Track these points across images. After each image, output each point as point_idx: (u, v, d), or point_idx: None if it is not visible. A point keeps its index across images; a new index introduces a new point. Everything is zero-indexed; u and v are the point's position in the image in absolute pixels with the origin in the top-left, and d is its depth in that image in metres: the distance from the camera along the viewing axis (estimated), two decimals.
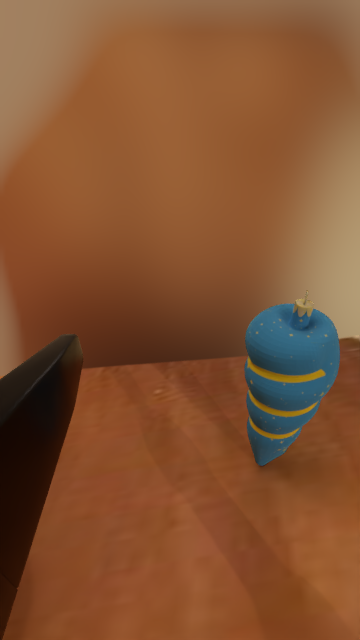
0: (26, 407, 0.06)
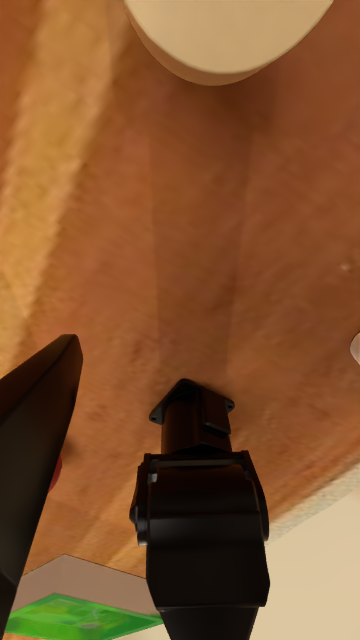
0: (26, 407, 0.06)
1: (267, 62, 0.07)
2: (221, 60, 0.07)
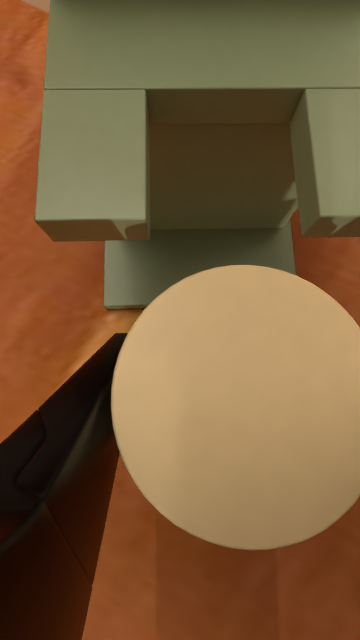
0: (101, 405, 0.06)
1: (311, 536, 0.06)
2: (252, 536, 0.06)
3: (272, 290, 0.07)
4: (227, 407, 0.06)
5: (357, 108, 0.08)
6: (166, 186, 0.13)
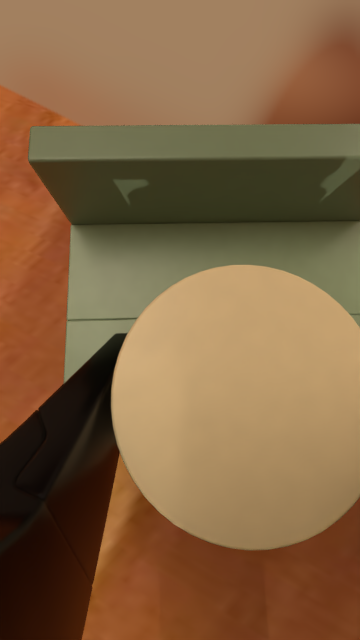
0: (101, 405, 0.06)
1: (312, 536, 0.06)
2: (252, 536, 0.06)
3: (272, 290, 0.07)
4: (228, 406, 0.06)
5: None
6: None
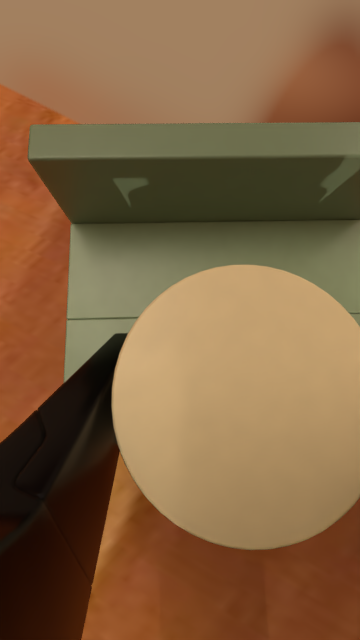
0: (101, 405, 0.06)
1: (312, 535, 0.06)
2: (252, 536, 0.06)
3: (272, 290, 0.07)
4: (228, 406, 0.06)
5: None
6: None
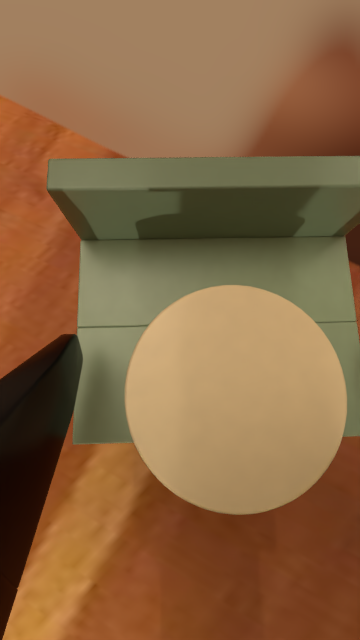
0: (26, 407, 0.06)
1: (285, 503, 0.07)
2: (237, 504, 0.07)
3: (255, 306, 0.08)
4: (219, 401, 0.08)
5: None
6: None
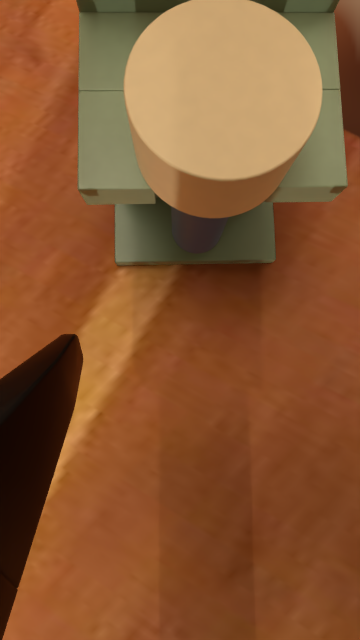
0: (26, 407, 0.06)
1: (263, 172, 0.08)
2: (222, 171, 0.08)
3: (243, 14, 0.09)
4: (208, 91, 0.08)
5: None
6: None
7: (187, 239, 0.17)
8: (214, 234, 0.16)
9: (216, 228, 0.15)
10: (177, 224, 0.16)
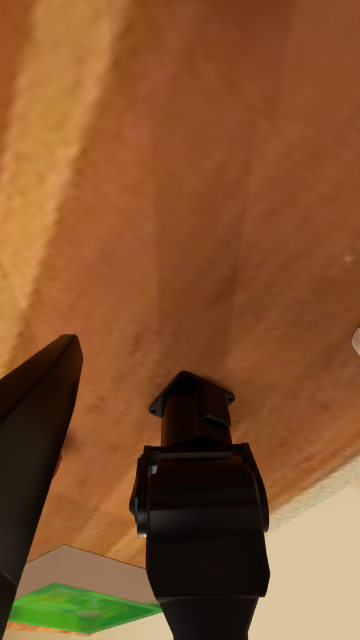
0: (26, 407, 0.06)
1: None
2: None
3: None
4: None
5: None
6: None
7: None
8: None
9: None
10: None
